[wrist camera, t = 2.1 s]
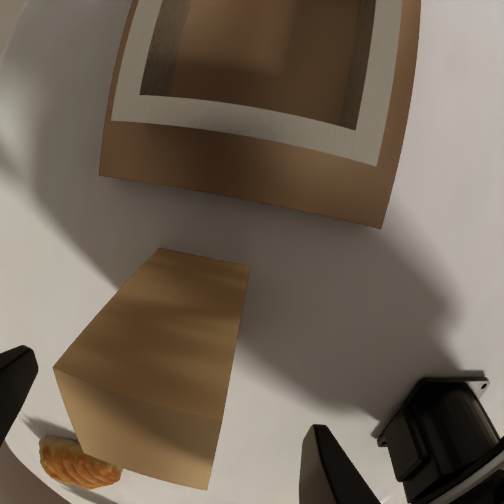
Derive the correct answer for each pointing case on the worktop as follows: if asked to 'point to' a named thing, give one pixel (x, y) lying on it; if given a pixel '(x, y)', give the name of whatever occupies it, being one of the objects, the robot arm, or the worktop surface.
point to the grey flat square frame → (256, 119)
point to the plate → (267, 107)
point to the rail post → (157, 368)
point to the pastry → (75, 464)
